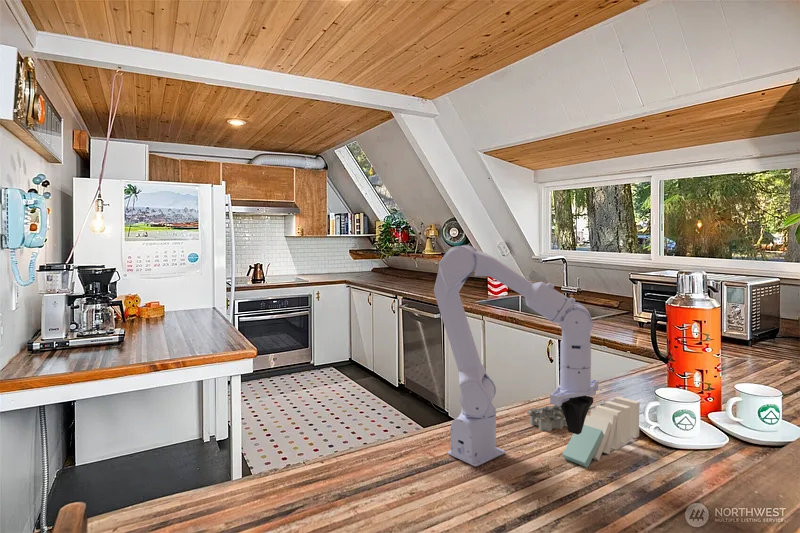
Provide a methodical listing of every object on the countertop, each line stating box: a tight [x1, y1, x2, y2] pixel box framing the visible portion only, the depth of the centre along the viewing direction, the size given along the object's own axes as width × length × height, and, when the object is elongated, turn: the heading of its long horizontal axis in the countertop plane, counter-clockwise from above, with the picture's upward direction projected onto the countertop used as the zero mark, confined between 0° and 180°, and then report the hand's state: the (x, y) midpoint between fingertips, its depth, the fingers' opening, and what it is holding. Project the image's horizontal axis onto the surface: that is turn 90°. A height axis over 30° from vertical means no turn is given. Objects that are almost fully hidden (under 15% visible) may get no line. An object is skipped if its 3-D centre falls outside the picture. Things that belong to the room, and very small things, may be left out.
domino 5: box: [604, 400, 631, 445], centre depth 108 cm, size 2×5×8 cm, turn 40°
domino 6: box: [614, 396, 641, 439], centre depth 111 cm, size 2×5×8 cm, turn 40°
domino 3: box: [584, 414, 612, 461], centre depth 102 cm, size 2×5×8 cm
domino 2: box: [589, 408, 617, 455], centre depth 104 cm, size 2×5×8 cm, turn 40°
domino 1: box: [561, 425, 604, 468], centre depth 99 cm, size 2×5×8 cm
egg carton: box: [527, 405, 567, 432], centre depth 118 cm, size 11×8×4 cm
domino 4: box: [594, 404, 621, 451], centre depth 105 cm, size 2×5×8 cm, turn 40°
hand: (574, 432), depth 97 cm, fingers closed
